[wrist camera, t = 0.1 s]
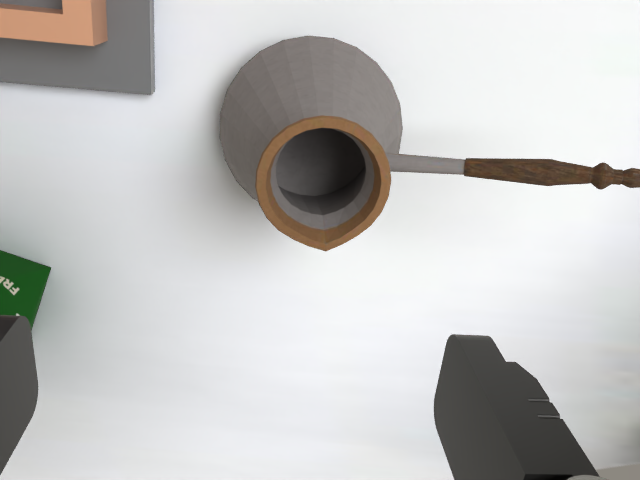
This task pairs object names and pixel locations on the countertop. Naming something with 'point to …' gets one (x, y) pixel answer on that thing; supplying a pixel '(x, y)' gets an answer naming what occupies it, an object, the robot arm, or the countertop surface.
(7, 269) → the milk carton
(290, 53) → the coffee pot
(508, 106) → the countertop surface
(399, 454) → the countertop surface
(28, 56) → the dock
